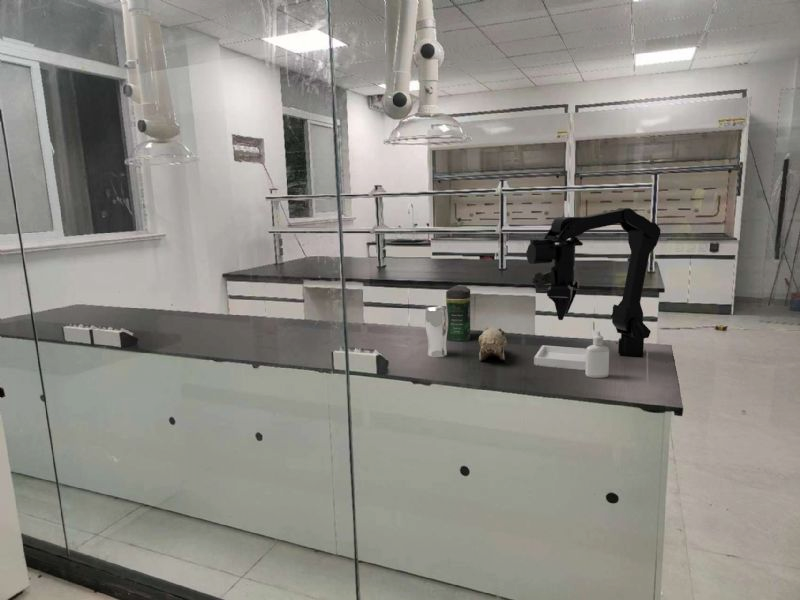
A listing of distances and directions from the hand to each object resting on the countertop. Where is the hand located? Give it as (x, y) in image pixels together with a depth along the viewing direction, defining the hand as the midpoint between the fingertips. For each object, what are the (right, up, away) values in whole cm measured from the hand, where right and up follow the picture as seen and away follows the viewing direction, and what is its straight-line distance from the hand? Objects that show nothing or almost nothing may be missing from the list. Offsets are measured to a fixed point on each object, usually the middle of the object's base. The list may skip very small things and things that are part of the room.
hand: (563, 316), depth 154 cm
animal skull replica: (-19, -13, +6) cm, 24 cm away
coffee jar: (-27, -9, +29) cm, 40 cm away
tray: (0, -13, +2) cm, 13 cm away
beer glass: (-35, -13, +10) cm, 39 cm away
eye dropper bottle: (+5, -15, -12) cm, 20 cm away
